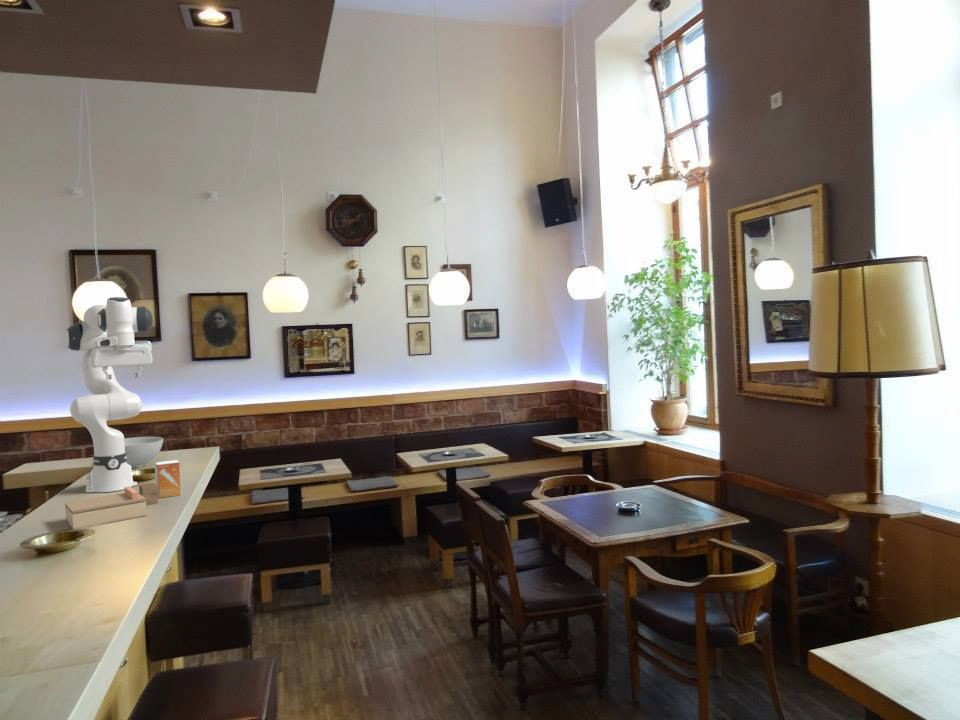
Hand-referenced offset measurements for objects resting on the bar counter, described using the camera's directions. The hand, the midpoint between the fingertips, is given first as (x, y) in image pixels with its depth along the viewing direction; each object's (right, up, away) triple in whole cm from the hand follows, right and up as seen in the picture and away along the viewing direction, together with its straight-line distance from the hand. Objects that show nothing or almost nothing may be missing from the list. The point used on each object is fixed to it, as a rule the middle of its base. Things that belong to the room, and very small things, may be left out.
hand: (123, 378), depth 250 cm
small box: (+11, -46, +13) cm, 49 cm away
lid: (+4, -42, -18) cm, 46 cm away
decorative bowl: (-33, -44, +73) cm, 92 cm away
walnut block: (+9, -46, +1) cm, 47 cm away
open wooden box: (+4, -47, -18) cm, 51 cm away
